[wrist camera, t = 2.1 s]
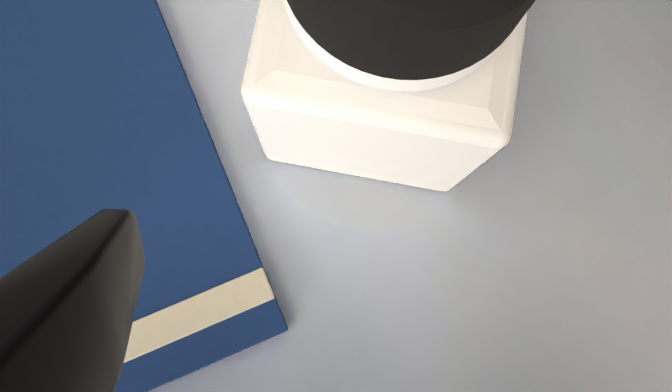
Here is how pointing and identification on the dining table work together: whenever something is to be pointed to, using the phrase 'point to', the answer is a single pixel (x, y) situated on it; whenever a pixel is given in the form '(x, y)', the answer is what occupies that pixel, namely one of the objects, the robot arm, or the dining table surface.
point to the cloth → (127, 177)
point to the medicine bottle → (386, 85)
